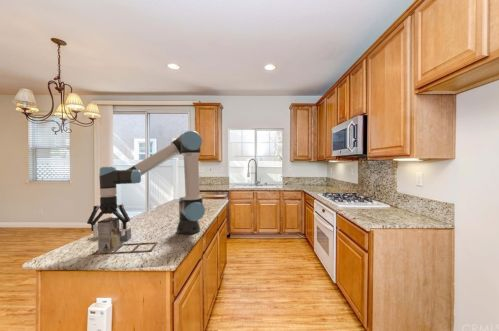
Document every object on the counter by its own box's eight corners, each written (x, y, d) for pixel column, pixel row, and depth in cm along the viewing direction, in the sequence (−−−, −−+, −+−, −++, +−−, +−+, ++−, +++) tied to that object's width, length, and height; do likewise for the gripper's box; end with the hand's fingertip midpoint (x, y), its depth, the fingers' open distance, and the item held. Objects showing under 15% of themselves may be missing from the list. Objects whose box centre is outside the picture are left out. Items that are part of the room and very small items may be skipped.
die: (131, 237, 142) (130, 227, 141) (127, 241, 136) (127, 230, 136) (120, 238, 141) (120, 228, 141) (116, 241, 135) (116, 231, 135)
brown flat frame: (157, 243, 132) (157, 242, 132) (151, 251, 119) (151, 250, 119) (104, 245, 128) (104, 244, 128) (92, 254, 115) (92, 253, 115)
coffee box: (108, 246, 127) (108, 217, 127) (120, 246, 127) (119, 217, 127) (97, 253, 118) (97, 221, 118) (110, 252, 118) (110, 221, 118)
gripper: (135, 194, 128) (136, 232, 128) (86, 195, 124) (87, 235, 125) (130, 196, 120) (131, 236, 121) (78, 197, 117) (79, 239, 117)
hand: (109, 236), depth 123 cm, fingers open, 13 cm apart
